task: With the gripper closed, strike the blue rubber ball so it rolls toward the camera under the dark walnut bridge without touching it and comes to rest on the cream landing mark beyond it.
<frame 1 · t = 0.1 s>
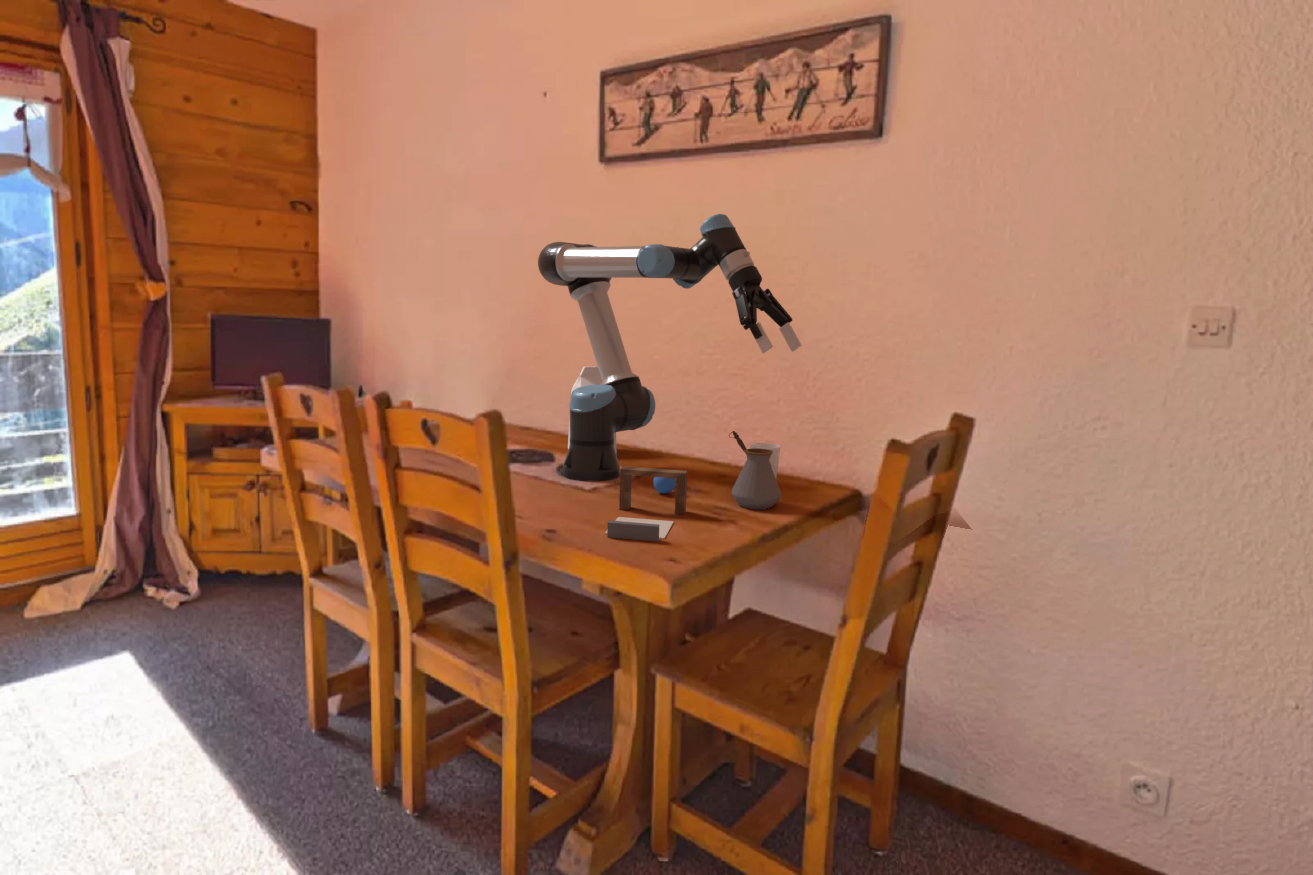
hand: (782, 349, 178), 36 cm above the table, tool tilted 35°, fingers open, 13 cm apart
stopper wall: (633, 538, 150), on the table
white cup: (762, 483, 201), on the table
milk: (591, 452, 235), on the table
landing mark: (640, 527, 157), on the table
ball: (664, 482, 186), on the table
bridge: (652, 510, 171), on the table
coffee pot: (746, 500, 183), on the table
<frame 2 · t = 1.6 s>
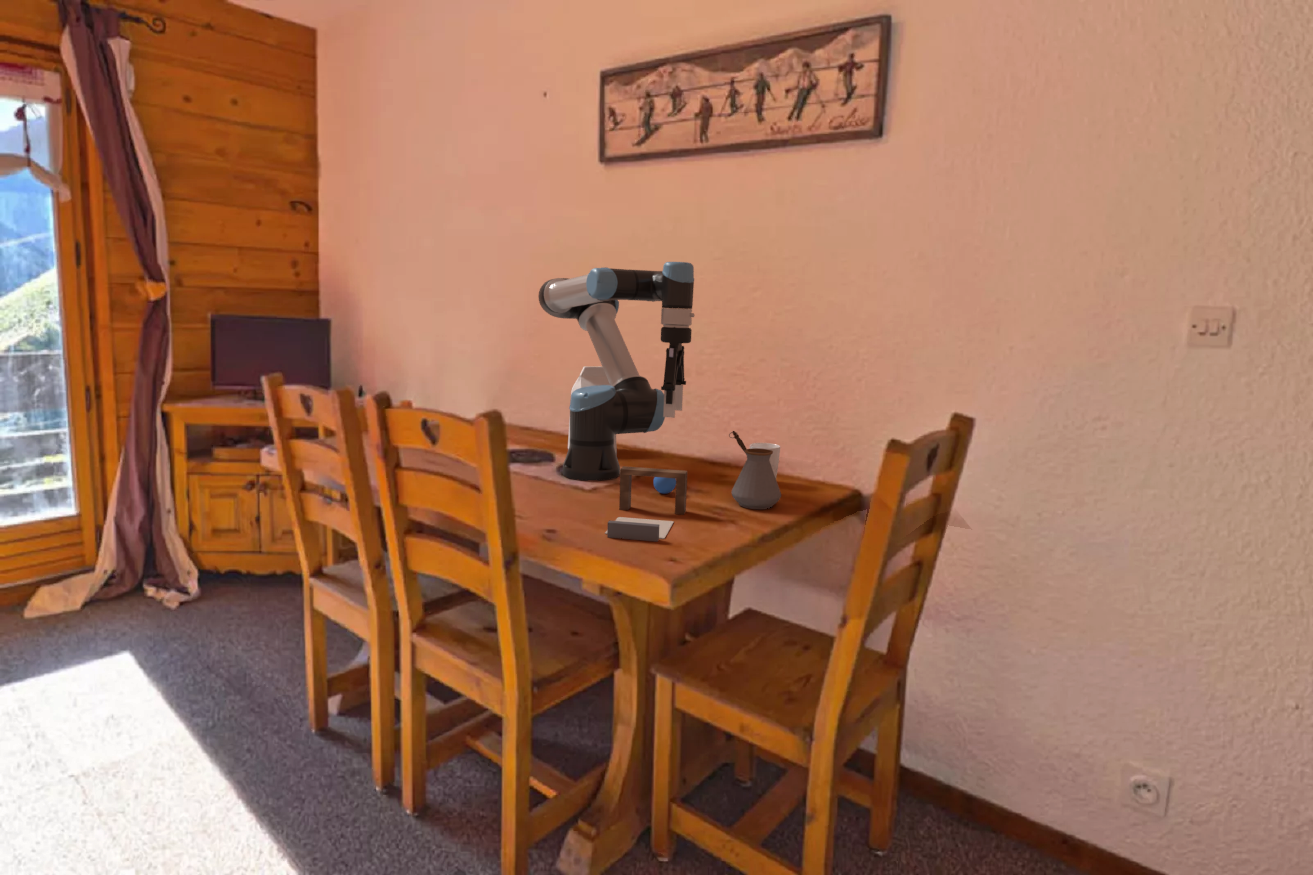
hand: (673, 413, 192), 18 cm above the table, tool pointing down, fingers open, 12 cm apart
nothing on the table moved.
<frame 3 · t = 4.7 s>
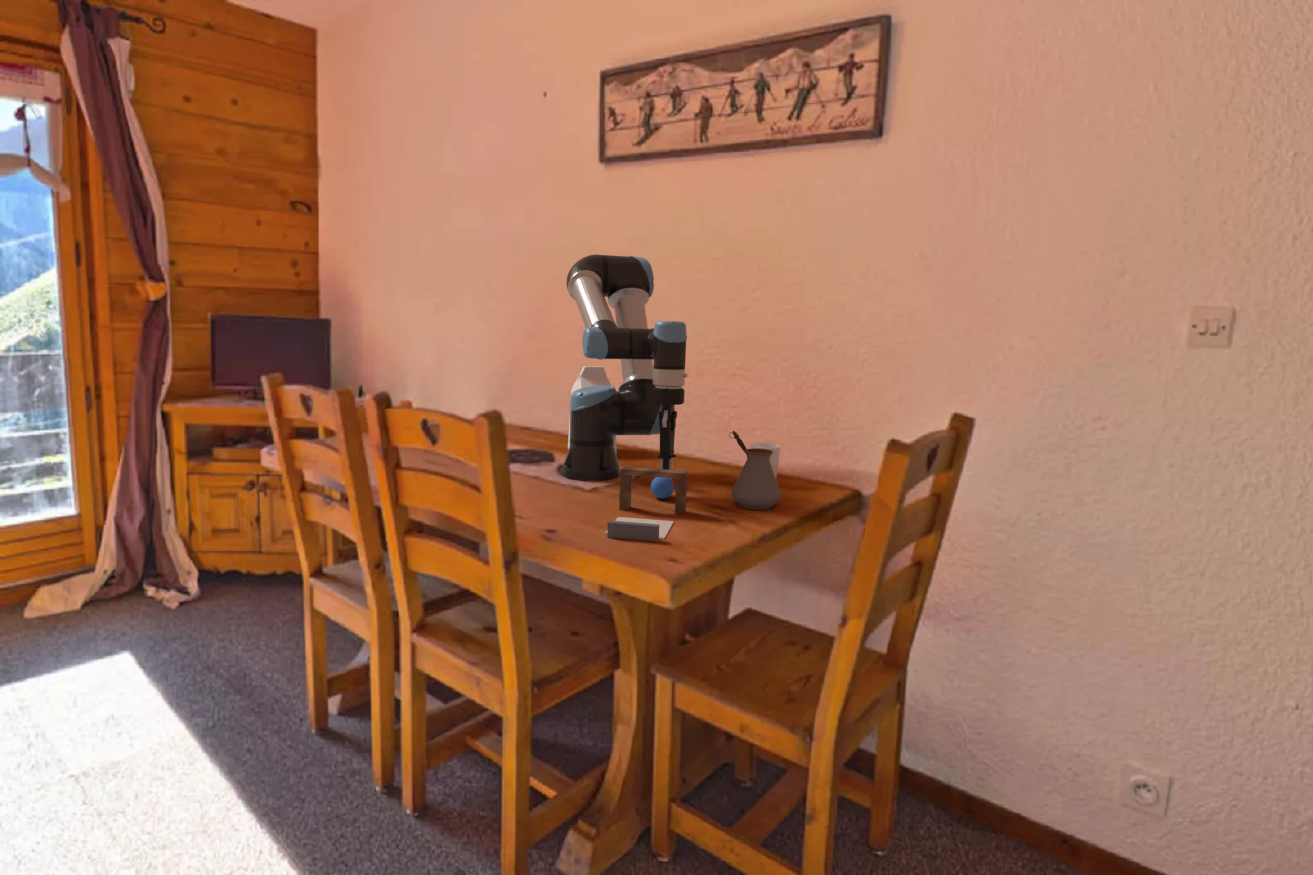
hand: (666, 484, 185), 2 cm above the table, tool pointing down, fingers closed
ball: (662, 487, 181), on the table
everything else where it was.
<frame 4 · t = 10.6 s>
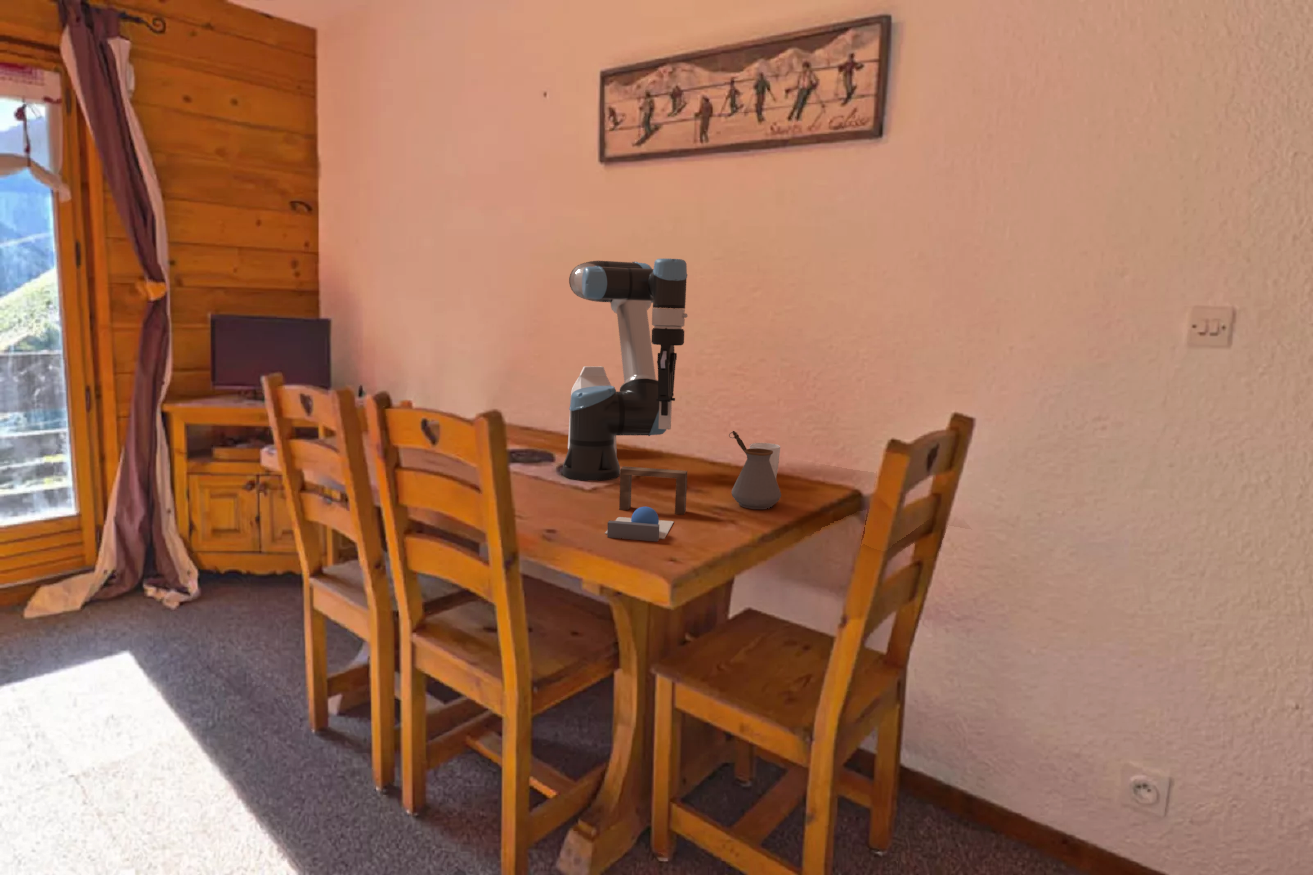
hand: (664, 428, 180), 16 cm above the table, tool pointing down, fingers closed
ball: (645, 520, 153), on the table
everything else where it was.
at the end: ball 3.9 cm from the landing mark (horizontally); ball never touched bridge; ball at rest at the end (0.0 cm/s) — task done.
